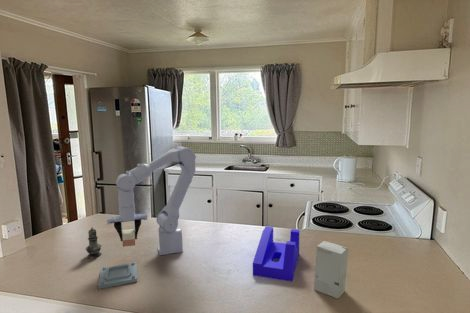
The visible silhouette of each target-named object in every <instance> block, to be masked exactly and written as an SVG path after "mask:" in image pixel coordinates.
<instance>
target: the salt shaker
mask: <svg viewBox="0 0 470 313" xmlns="http://www.w3.org/2000/svg"><path fill="white" fill-rule="evenodd" d="M87 233H88V238H87V240H88V245H87V246H86V247H85V251H86V252H87V254H88V255H87V256H86V258H87V259H96V258H99V257H101V256H102V252H100V251H101V249H102V244H101V243H98V239H99V238H98V236H97V230H96V229H95V228H93V226H92V227H91V228H90V229H89V230H88V232H87Z"/></svg>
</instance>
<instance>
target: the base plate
mask: <svg viewBox="0 0 470 313" xmlns="http://www.w3.org/2000/svg"><path fill="white" fill-rule="evenodd" d="M137 270H138V269H137V262H135V261H132V262H131V263H126V264H119V265H113V266H108V267H107V266H103V267H101V270H100V275H99V280H98V285H97V286H98V289H105V288H110V287H116V286H120V285H121V286H122V285H127V284H133V283H138V276H137V275H138V273H137Z"/></svg>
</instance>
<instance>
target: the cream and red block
mask: <svg viewBox="0 0 470 313" xmlns="http://www.w3.org/2000/svg"><path fill="white" fill-rule="evenodd" d="M122 239H123V241H122V248H125V247H131V246H132V247H133V246H136V239H135V228H131V229H130V228H129V229H122Z"/></svg>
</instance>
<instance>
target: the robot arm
mask: <svg viewBox="0 0 470 313" xmlns="http://www.w3.org/2000/svg"><path fill="white" fill-rule="evenodd" d="M196 158H197V155H196V154H195V151H194V150H193V149H192V148H190V147H186V146H185V147H184V146H183V145H177V146H175V147H174V148H170V149H169V150H168V151H166V152H164V153H162V155H159V156H158V157H157V158H155V159H153V160H152V161H150V162H149V163H137V164H136V167H134V168H132V169H130V170H126V171H125V173H121V174H119V175H118V176H117V178H116V180H115V185H116V187H117V193H118V194H117V200H118V214H119V215H116V216H112V217H107V219H106V225H111V224H113V226H114V229H115V231H116V232H117V234H118V236H119V239H120V242H123V239H122V232H123V228H122V225H123V224H122V223H126V222H128V223H129V222H133V223H134V229H135V240H137V239H138V234H139V231H140V230H139V229H140V227H141V225H142V221H143V220H144V221H147V220H148V213H136V207H135V193H134V188H135V187H136V185H138V184H139V183H141V182H143V181H145V180H146V179H147V178H149V177H151V176H152V173H153V171H155V170H157V169H159V168H161V167H164V166H165V165H167V164H169V163H171V162H172V163H178V165H179V167H180V170H181V171H180V174H179V176H178V179H177V181H176V183H175V186H174V188H173V190H172V191H171V195H170V197H169V200H168V202H167V204H165V206H164V207H163V208H162V209H161V211H160V212H159V213H158V214H157V216H156V218H155V219H156V223H157V225H159V226H158V227H159V228H158V246H157V249H158V254H159V256H164V255H171V254H177V253H183V252H184V249H183V248H184V247H183V246H184V245H183V233H182V229H181V227H178V226H179V219H180V208H181V206H182V203H183V202H184V199H185V196H186V193H187V192H188V190H189V187H190V185H191V182H192V180H193V177H194V176H195V173H196Z"/></svg>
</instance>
